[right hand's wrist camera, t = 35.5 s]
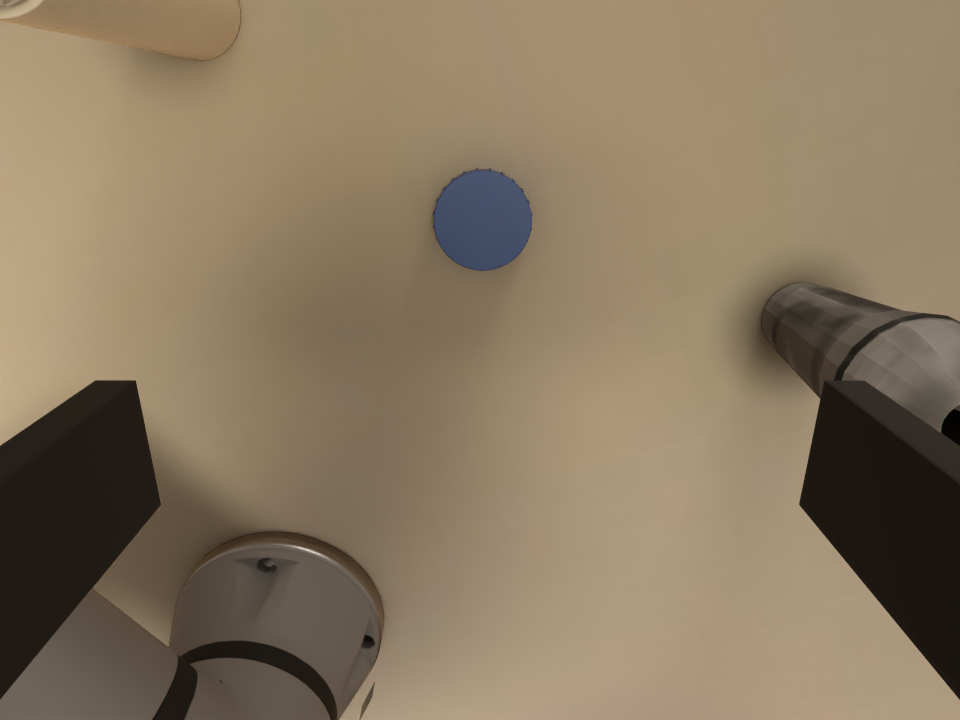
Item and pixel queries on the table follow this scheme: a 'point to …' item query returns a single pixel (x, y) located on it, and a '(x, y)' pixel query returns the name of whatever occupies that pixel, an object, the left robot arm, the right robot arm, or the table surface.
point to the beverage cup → (870, 349)
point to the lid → (482, 220)
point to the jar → (136, 22)
